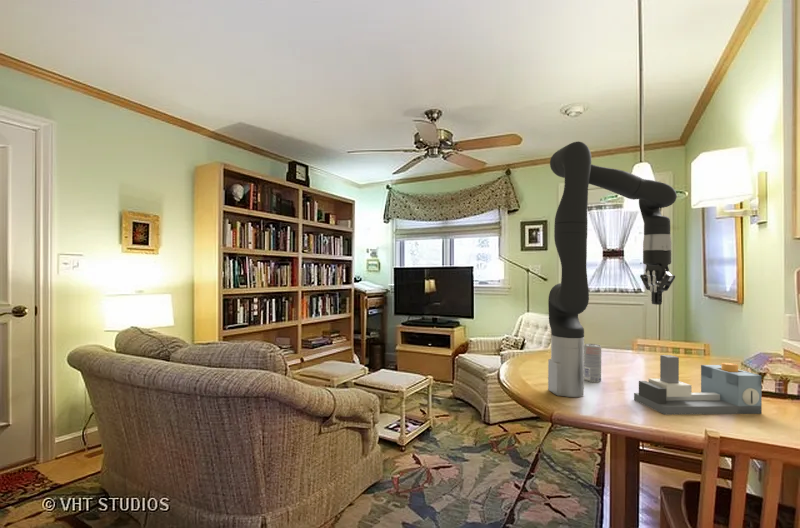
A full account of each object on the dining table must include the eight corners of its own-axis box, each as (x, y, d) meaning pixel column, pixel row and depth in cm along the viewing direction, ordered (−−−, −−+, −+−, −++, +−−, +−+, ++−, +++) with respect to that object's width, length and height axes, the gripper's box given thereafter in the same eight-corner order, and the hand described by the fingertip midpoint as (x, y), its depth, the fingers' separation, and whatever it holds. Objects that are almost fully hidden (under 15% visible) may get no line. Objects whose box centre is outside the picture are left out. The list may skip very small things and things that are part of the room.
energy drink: (597, 378, 139) (597, 344, 140) (603, 382, 134) (604, 346, 134) (581, 378, 140) (581, 343, 140) (587, 382, 134) (587, 346, 135)
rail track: (665, 415, 103) (666, 376, 104) (634, 399, 116) (634, 365, 116) (763, 414, 105) (763, 376, 106) (721, 399, 118) (721, 365, 118)
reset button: (729, 382, 110) (729, 365, 110) (718, 378, 114) (718, 362, 114) (741, 382, 110) (741, 365, 110) (730, 378, 114) (730, 362, 114)
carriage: (666, 396, 107) (666, 358, 107) (648, 389, 114) (648, 353, 114) (691, 396, 107) (691, 358, 108) (671, 389, 114) (671, 353, 114)
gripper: (632, 250, 133) (631, 302, 133) (660, 247, 120) (660, 306, 120) (653, 250, 134) (653, 303, 133) (684, 248, 121) (684, 306, 120)
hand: (656, 304), depth 126 cm, fingers closed
